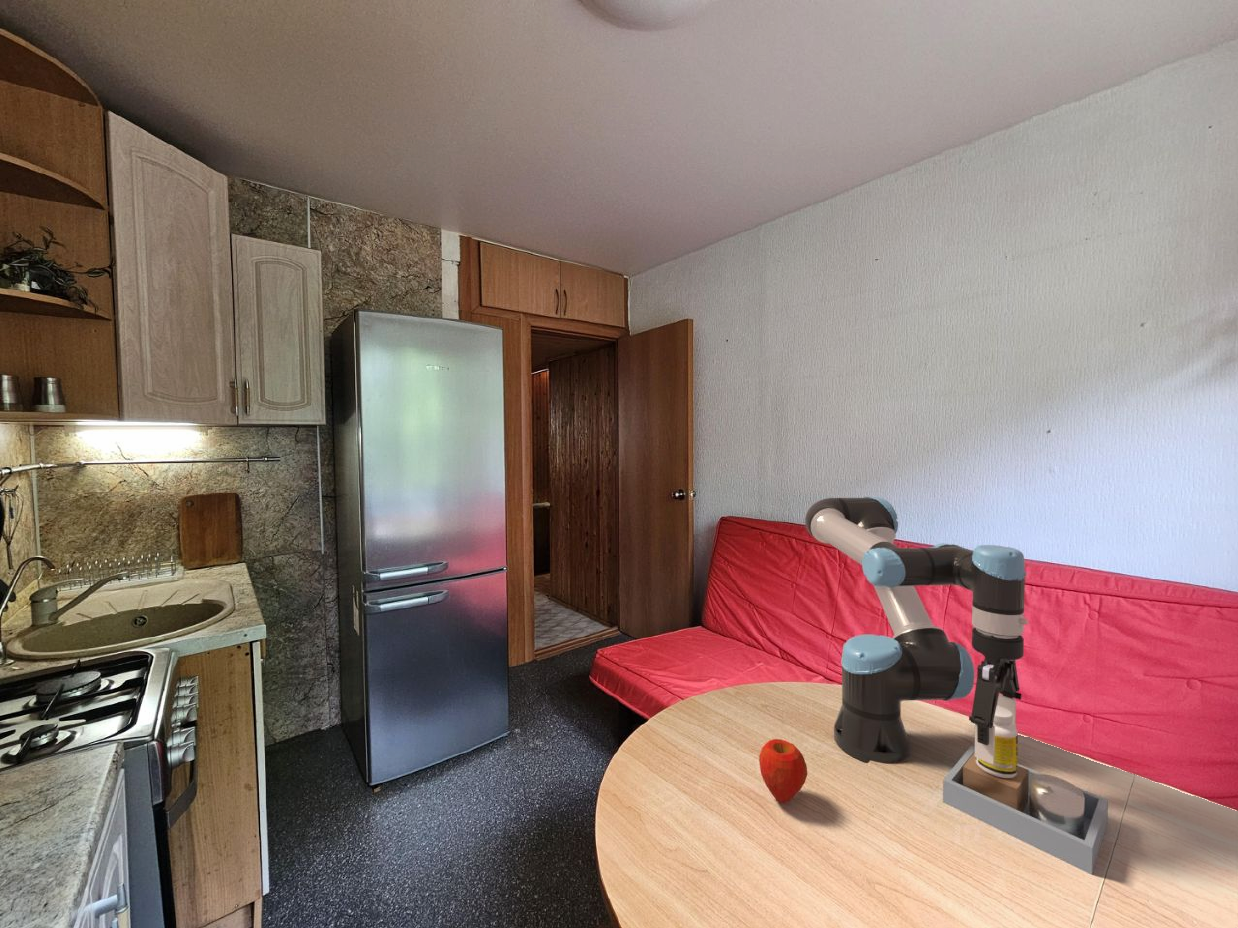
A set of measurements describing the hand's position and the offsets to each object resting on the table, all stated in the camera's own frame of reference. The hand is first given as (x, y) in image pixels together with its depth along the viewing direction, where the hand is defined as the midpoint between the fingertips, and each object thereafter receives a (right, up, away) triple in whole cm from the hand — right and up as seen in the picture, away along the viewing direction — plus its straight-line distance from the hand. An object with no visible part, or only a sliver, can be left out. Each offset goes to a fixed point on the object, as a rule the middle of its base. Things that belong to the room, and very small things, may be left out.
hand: (995, 744), depth 91 cm
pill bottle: (0, -5, 0) cm, 5 cm away
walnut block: (0, -11, 0) cm, 10 cm away
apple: (-39, -12, +2) cm, 41 cm away
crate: (+3, -11, -3) cm, 12 cm away
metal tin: (+5, -11, -6) cm, 14 cm away
